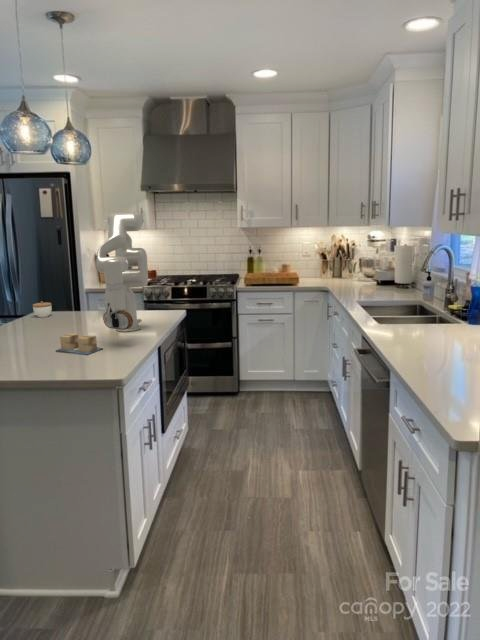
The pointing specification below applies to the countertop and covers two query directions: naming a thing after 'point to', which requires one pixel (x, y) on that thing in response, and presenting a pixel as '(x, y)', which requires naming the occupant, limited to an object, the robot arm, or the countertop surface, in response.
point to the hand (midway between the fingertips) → (118, 325)
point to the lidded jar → (42, 309)
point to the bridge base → (78, 344)
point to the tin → (123, 319)
